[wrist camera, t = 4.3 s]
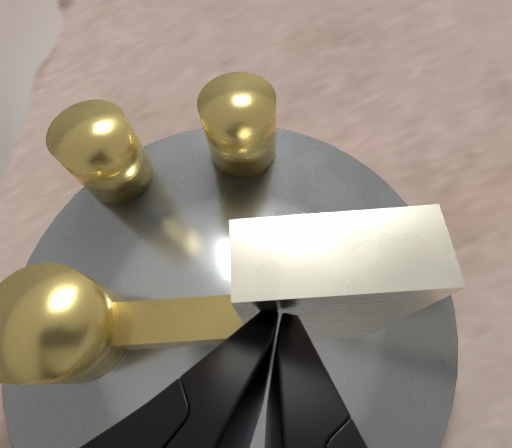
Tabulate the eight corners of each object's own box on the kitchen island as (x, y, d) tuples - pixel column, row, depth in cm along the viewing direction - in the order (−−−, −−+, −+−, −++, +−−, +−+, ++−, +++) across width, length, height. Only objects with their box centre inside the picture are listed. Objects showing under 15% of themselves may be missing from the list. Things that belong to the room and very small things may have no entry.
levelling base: (456, 667, 12) (575, 858, 7) (-72, 500, 15) (-235, 555, 10) (440, 160, 21) (487, 95, 16) (114, 119, 24) (74, 55, 19)
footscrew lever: (32, 386, 15) (-255, 393, 7) (52, 290, 17) (-155, 207, 9) (370, 366, 15) (486, 347, 7) (352, 269, 17) (425, 162, 8)
